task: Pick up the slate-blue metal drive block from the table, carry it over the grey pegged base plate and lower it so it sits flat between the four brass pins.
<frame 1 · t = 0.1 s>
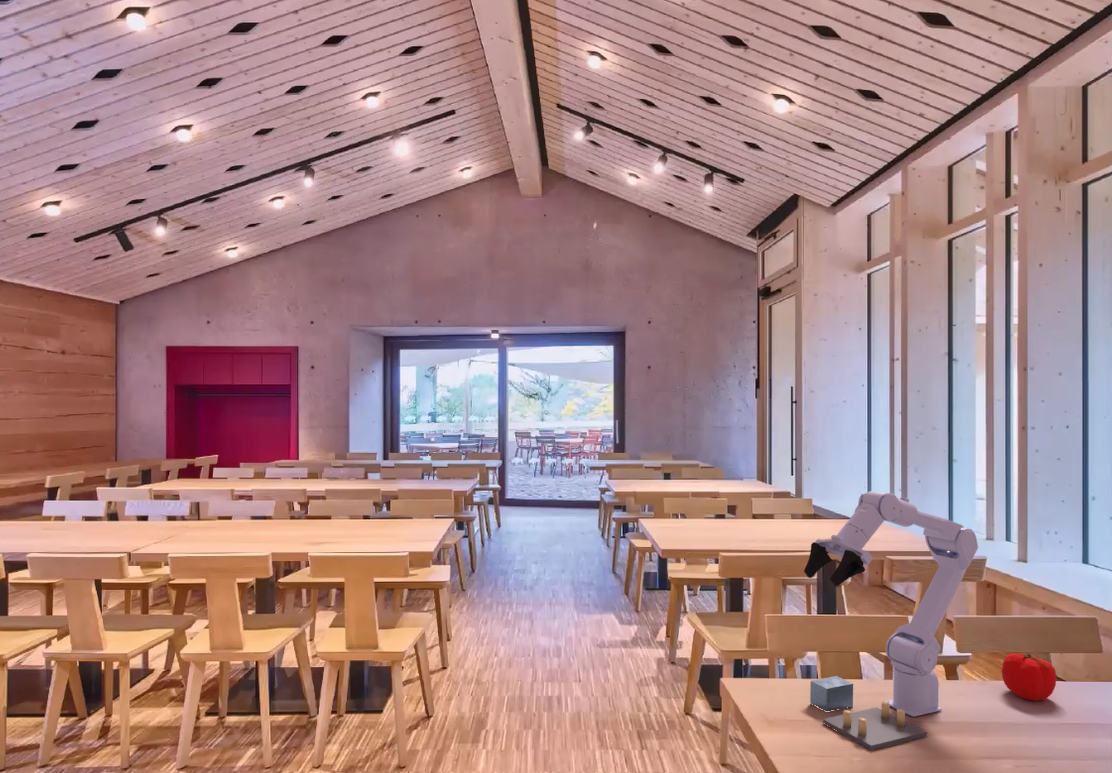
hand: (819, 578, 156), 32 cm above the table, tool tilted 50°, fingers open, 7 cm apart
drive: (831, 706, 168), on the table
tomato: (1028, 697, 175), on the table
grey pegged base plate: (874, 730, 156), on the table
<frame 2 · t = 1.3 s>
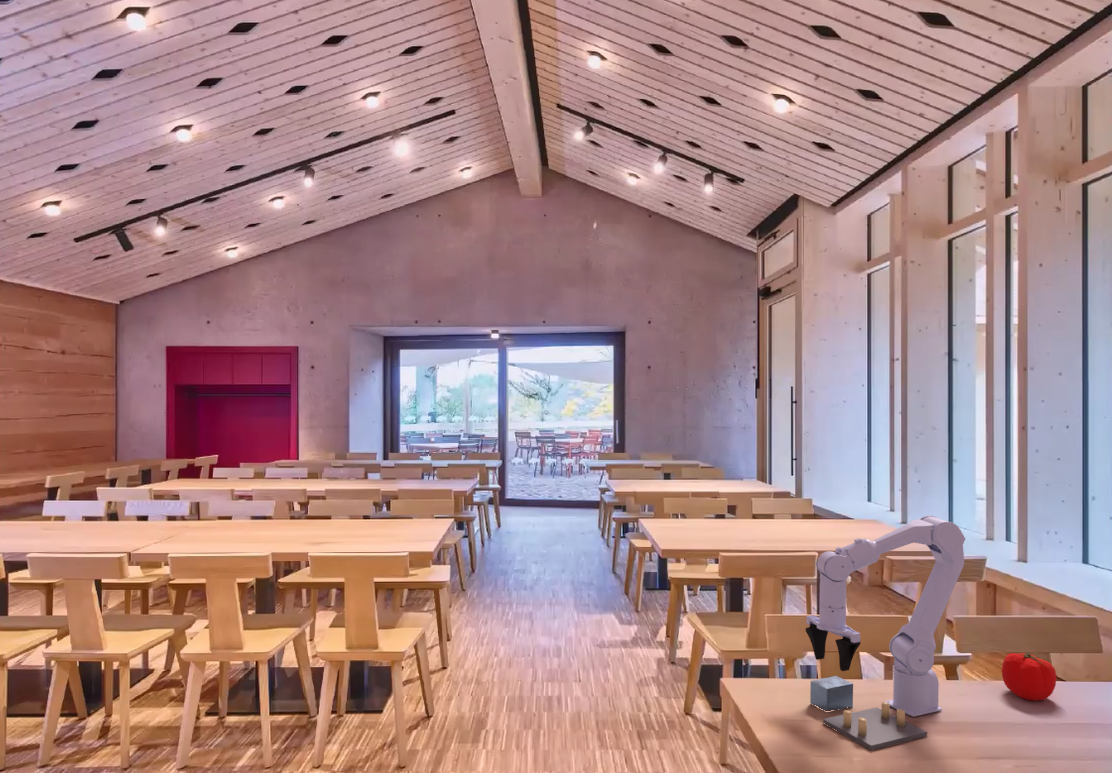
hand: (831, 664, 168), 9 cm above the table, tool pointing down, fingers open, 7 cm apart
nothing on the table moved.
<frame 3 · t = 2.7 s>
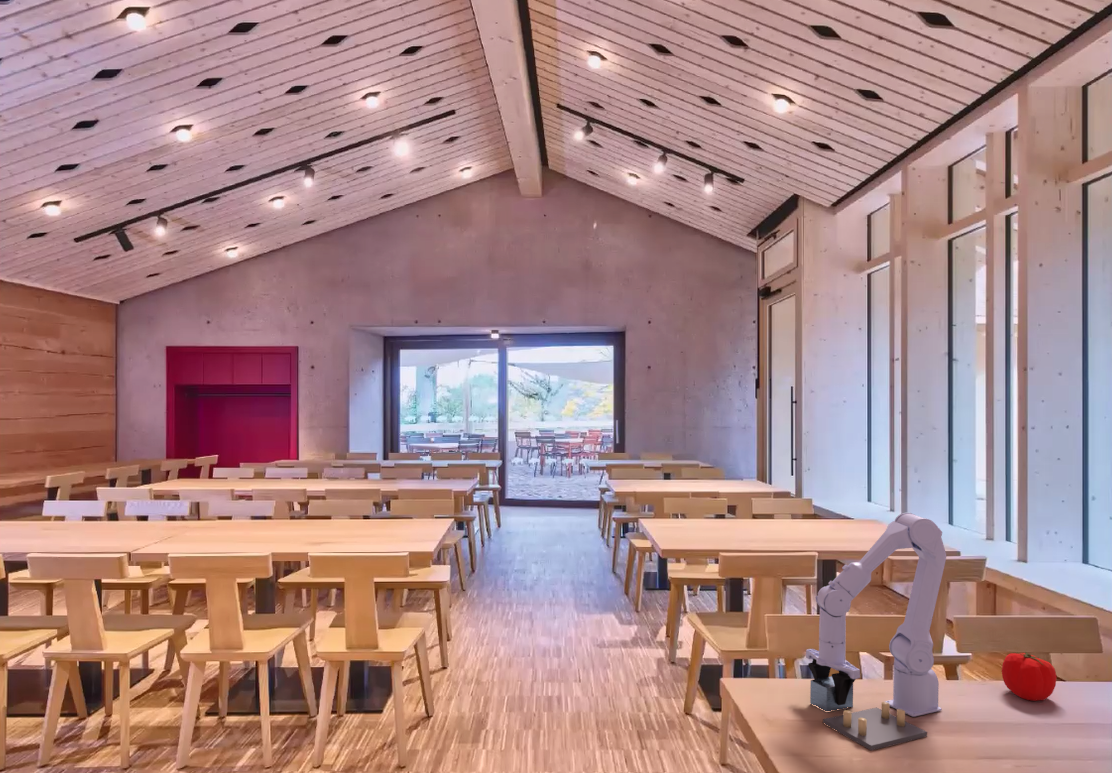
hand: (831, 699, 168), 1 cm above the table, tool pointing down, fingers closed on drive, 5 cm apart
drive: (831, 705, 168), on the table, touching gripper
everything else where it was.
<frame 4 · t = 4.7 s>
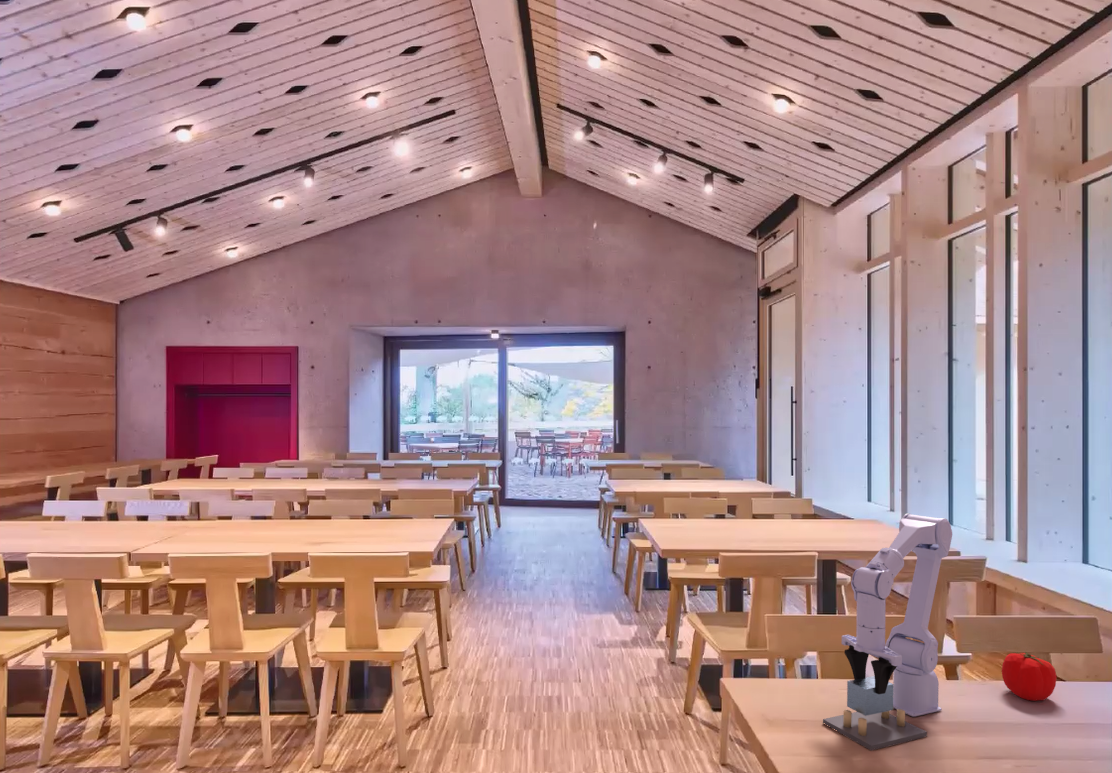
hand: (870, 688, 157), 8 cm above the table, tool pointing down, fingers closed on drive, 5 cm apart
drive: (870, 708, 157), point 4 cm above the table, touching gripper
everything else where it was.
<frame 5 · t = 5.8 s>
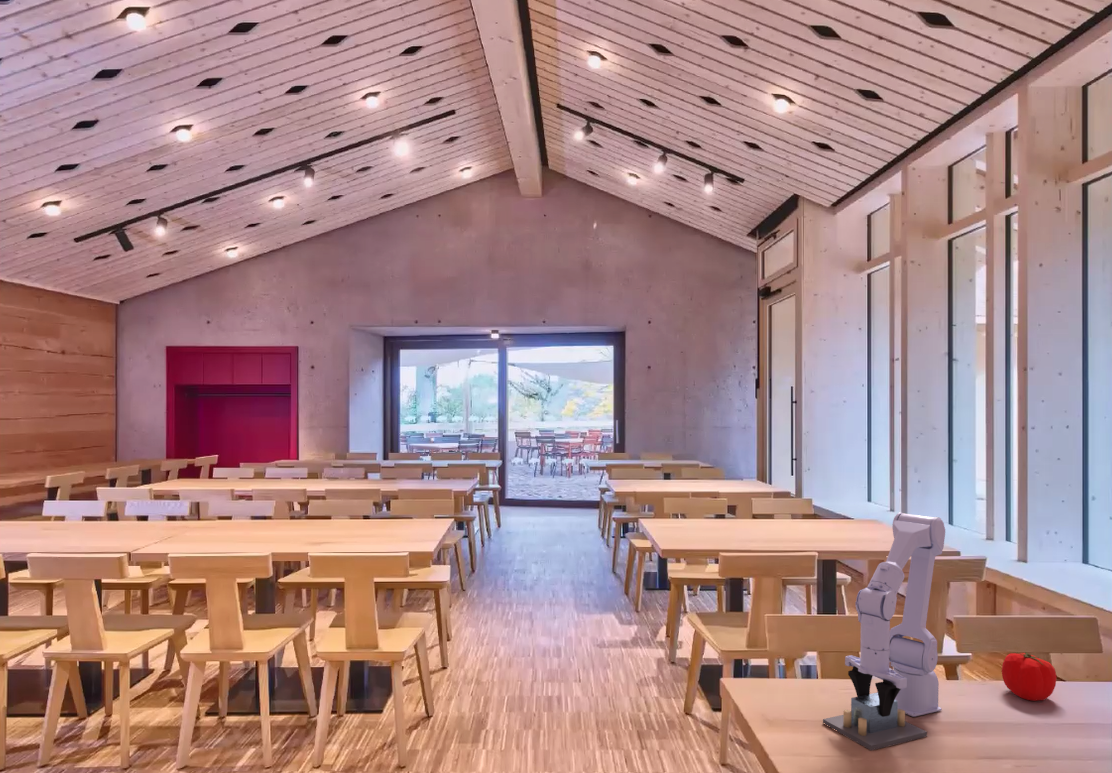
hand: (874, 710, 156), 4 cm above the table, tool pointing down, fingers closed on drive, 5 cm apart
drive: (874, 725, 156), point 1 cm above the table, touching gripper, grey pegged base plate
everything else where it was.
when the fingers open (4 cm above the table, at t = 6.4 s): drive stays where it is, resting on grey pegged base plate.
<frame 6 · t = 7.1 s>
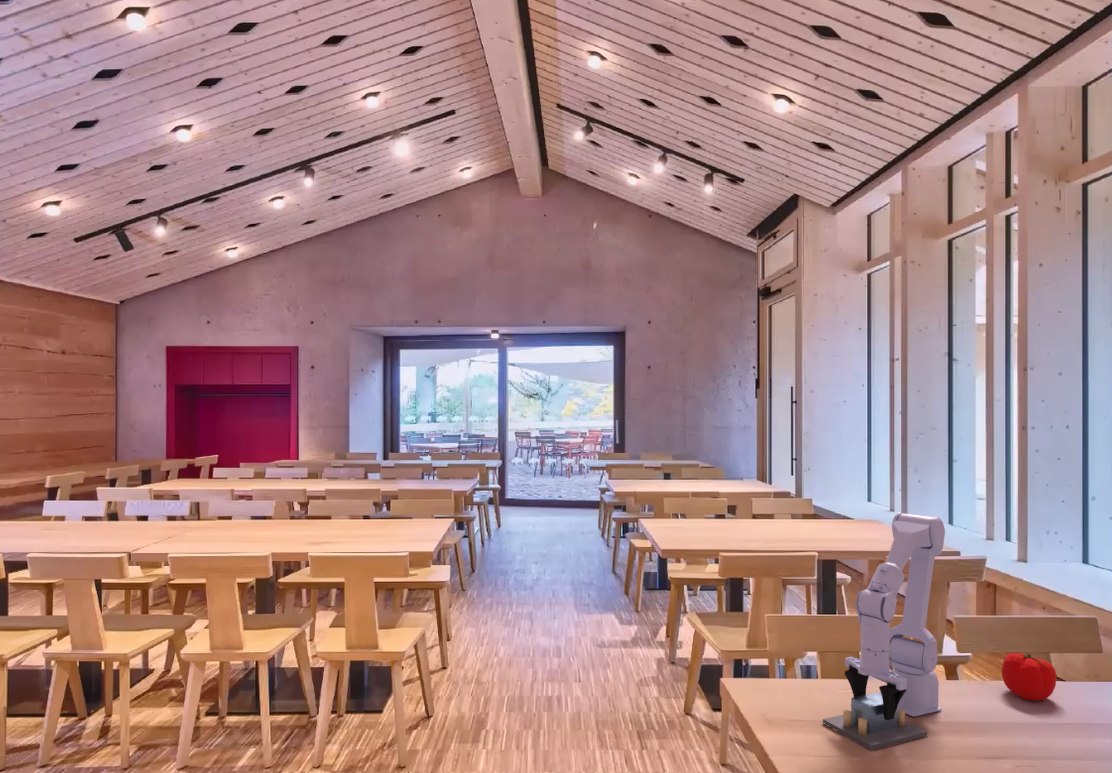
hand: (874, 711, 156), 4 cm above the table, tool pointing down, fingers open, 7 cm apart
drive: (874, 725, 156), point 1 cm above the table, touching grey pegged base plate
everything else where it was.
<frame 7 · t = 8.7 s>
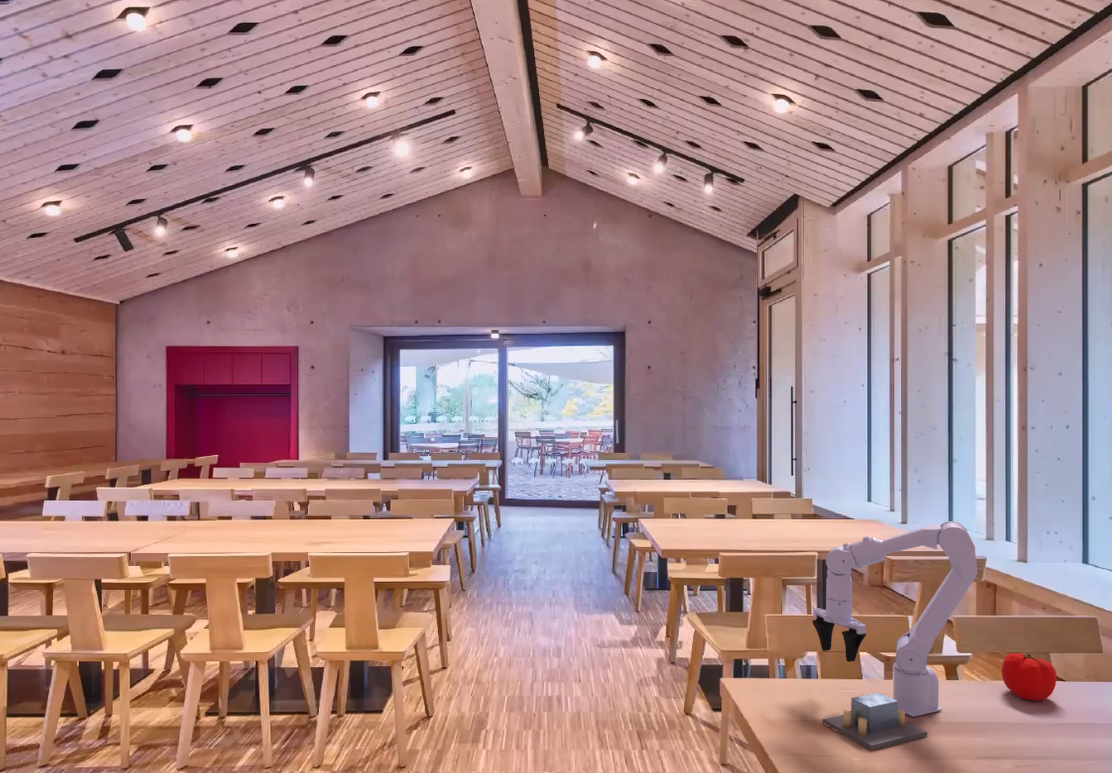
hand: (838, 655, 174), 9 cm above the table, tool pointing down, fingers open, 7 cm apart
nothing on the table moved.
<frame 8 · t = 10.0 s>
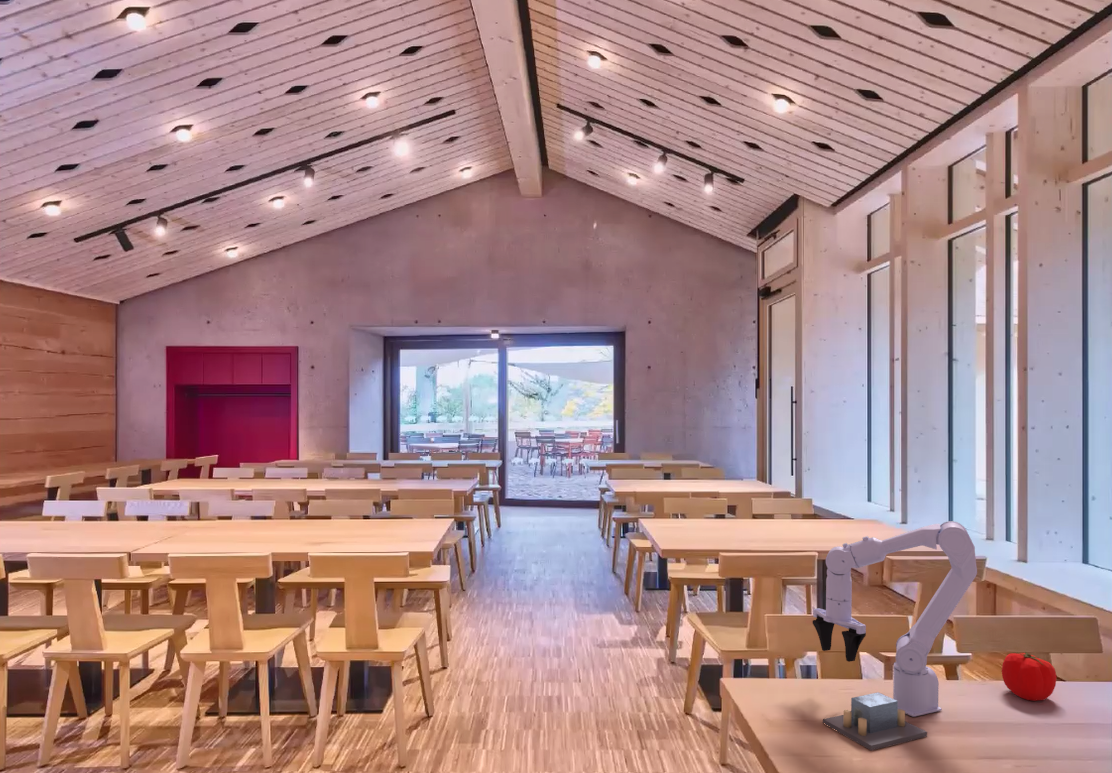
hand: (838, 655, 174), 9 cm above the table, tool pointing down, fingers open, 7 cm apart
nothing on the table moved.
at the end: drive 0.0 cm off-centre on the grey pegged base plate, point 1.0 cm above the grey pegged base plate's base; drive tilted 0°; the gripper is holding nothing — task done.
